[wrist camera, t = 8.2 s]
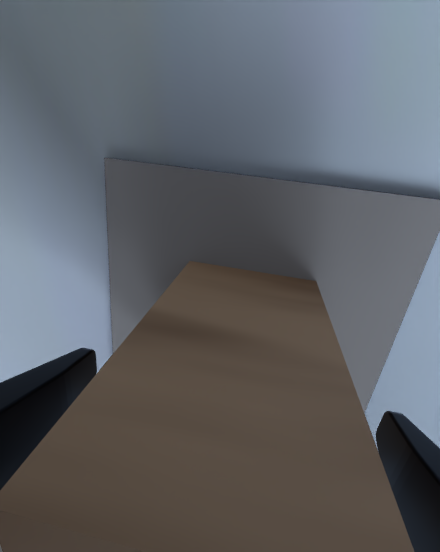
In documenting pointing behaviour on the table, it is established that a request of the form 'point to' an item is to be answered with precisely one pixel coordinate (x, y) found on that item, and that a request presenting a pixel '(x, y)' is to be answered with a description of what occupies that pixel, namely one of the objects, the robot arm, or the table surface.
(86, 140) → the table surface
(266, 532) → the oak block
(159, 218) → the pad
